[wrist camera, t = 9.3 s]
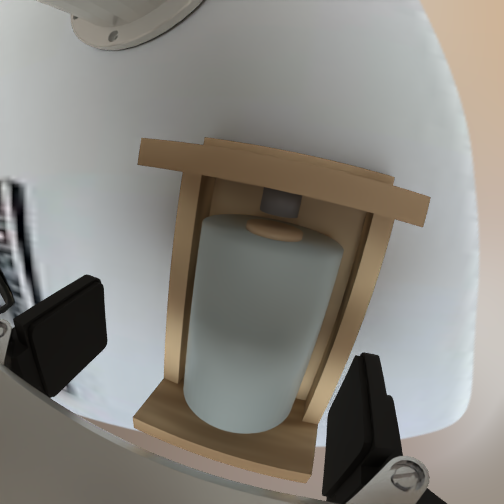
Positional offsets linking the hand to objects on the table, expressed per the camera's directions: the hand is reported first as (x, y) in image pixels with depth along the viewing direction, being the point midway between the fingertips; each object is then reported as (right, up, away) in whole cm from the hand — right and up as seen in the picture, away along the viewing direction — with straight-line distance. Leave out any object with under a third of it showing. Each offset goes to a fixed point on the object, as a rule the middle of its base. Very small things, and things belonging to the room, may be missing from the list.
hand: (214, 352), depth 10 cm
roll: (+2, +1, +7) cm, 7 cm away
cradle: (+2, +1, +8) cm, 8 cm away
